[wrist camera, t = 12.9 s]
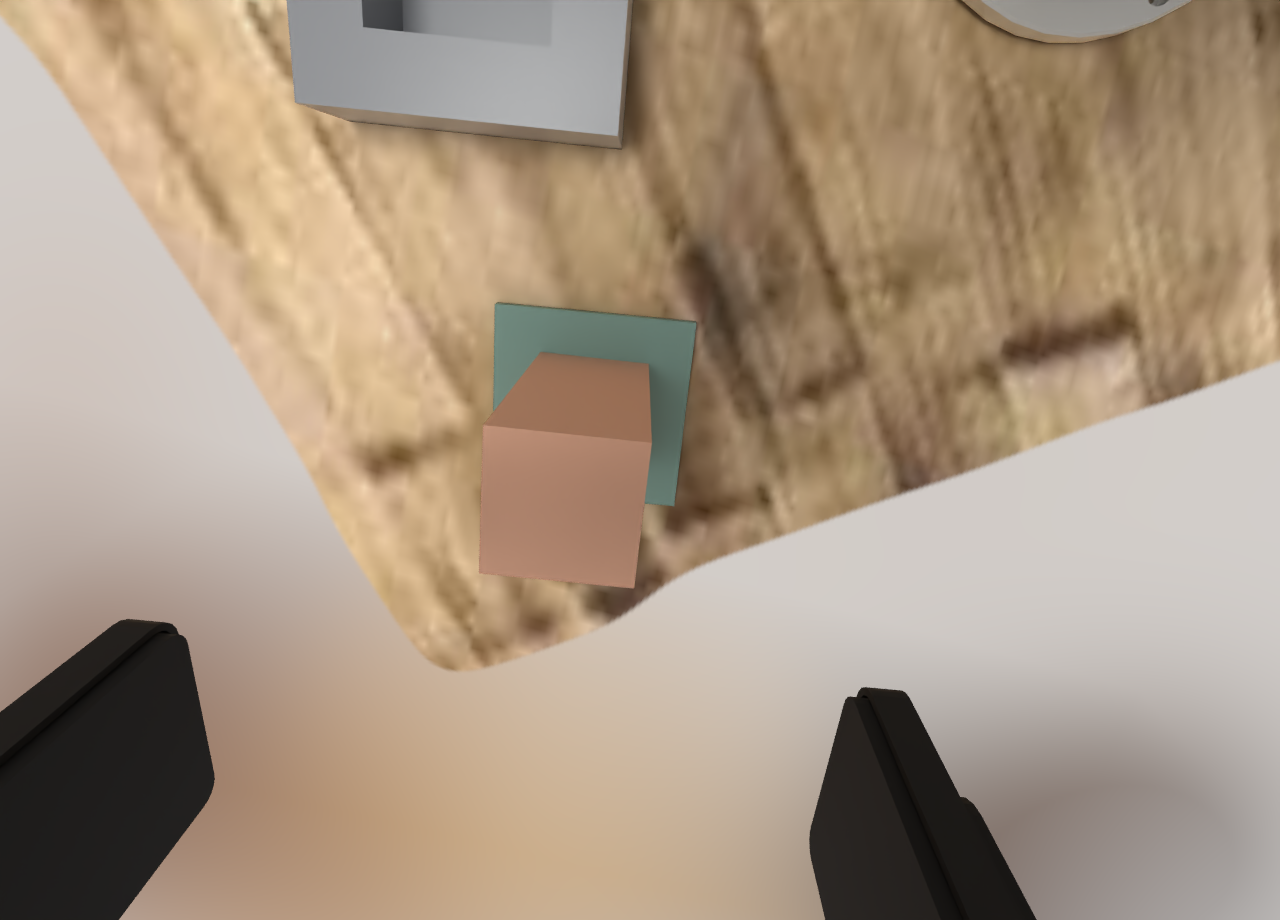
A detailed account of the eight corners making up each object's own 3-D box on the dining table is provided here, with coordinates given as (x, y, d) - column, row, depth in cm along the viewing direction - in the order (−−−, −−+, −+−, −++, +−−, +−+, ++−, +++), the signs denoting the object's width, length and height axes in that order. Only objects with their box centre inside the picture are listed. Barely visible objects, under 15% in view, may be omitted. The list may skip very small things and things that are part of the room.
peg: (648, 363, 26) (651, 443, 17) (636, 464, 28) (634, 588, 18) (540, 351, 26) (483, 425, 17) (534, 453, 28) (478, 573, 18)
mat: (695, 321, 26) (696, 323, 26) (673, 501, 29) (674, 506, 28) (497, 302, 26) (494, 303, 25) (494, 485, 29) (491, 489, 28)
